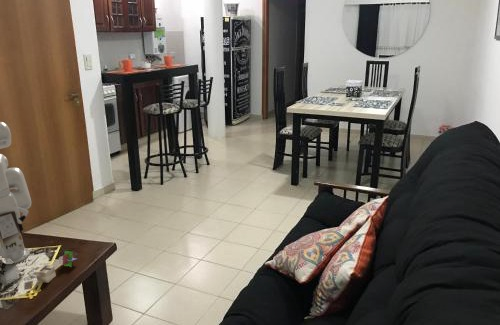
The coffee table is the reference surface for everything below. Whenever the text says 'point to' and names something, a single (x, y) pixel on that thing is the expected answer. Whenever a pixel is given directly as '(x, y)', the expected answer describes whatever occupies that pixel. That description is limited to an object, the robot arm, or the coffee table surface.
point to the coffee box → (10, 234)
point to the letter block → (45, 273)
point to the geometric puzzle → (67, 258)
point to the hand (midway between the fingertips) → (9, 235)
